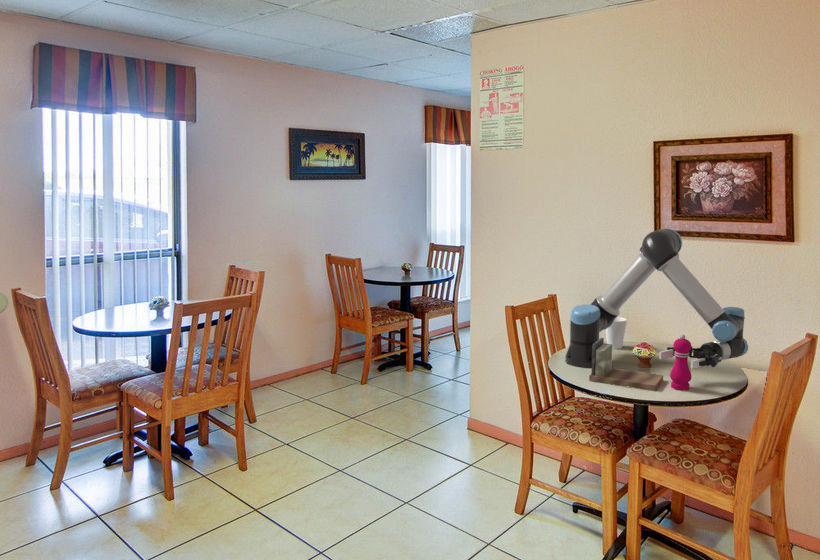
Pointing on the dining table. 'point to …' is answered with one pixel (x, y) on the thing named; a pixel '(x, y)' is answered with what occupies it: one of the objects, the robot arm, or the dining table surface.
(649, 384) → the wooden bookend
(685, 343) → the pepper mill
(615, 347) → the foam cup
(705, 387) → the dining table surface
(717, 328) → the robot arm
